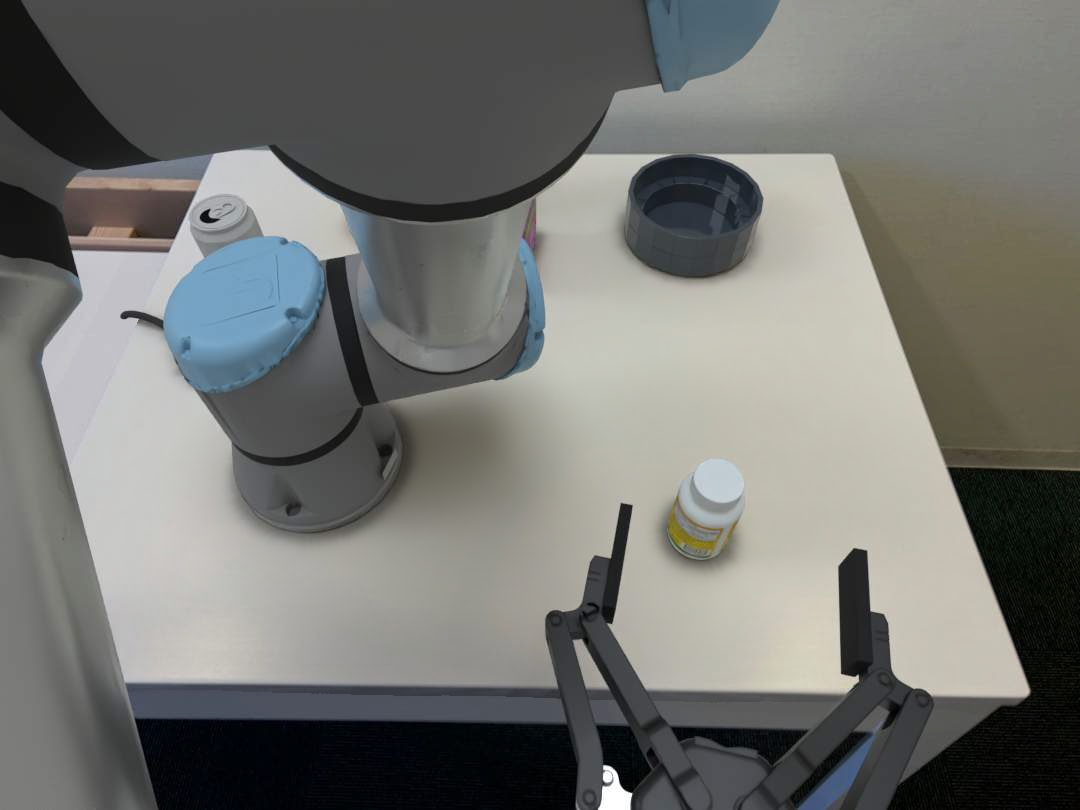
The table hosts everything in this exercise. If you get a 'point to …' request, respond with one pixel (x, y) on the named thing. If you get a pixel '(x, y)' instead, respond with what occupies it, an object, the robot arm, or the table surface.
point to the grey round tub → (692, 214)
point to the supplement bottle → (707, 509)
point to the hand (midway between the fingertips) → (736, 535)
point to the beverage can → (222, 222)
